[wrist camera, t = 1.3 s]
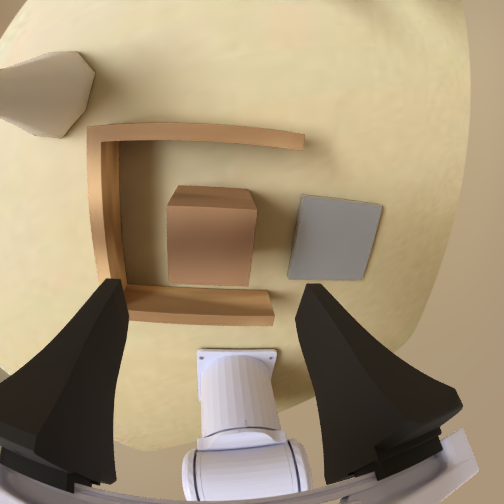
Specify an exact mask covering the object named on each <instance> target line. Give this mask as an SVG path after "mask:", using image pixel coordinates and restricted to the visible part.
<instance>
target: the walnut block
mask: <svg viewBox="0 0 504 504" xmlns="http://www.w3.org/2000/svg"><path fill="white" fill-rule="evenodd" d="M256 219H257V208H256V206H255V203H254V201H253V199H252V197H251V194H250V192H249V190H248V189H238V188H222V187H203V186H178V187H177V189H176V191H175V192H174V194H173V196H172V198H171V199H170V201H169V203H168V205H167V252H168V278H169V283H172V284H193V285H218V286H249V277H250V269H251V261H252V252H253V244H254V235H255V227H256Z"/></svg>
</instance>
